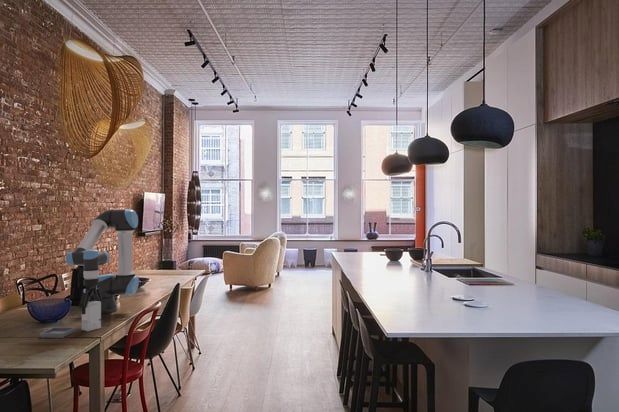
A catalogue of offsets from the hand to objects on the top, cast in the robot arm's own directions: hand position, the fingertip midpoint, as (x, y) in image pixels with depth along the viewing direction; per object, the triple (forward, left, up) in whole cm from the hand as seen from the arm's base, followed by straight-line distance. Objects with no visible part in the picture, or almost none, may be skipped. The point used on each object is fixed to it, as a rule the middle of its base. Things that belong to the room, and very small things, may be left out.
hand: (91, 317), depth 258 cm
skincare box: (0, 0, -7) cm, 7 cm away
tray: (+11, -12, -7) cm, 17 cm away
